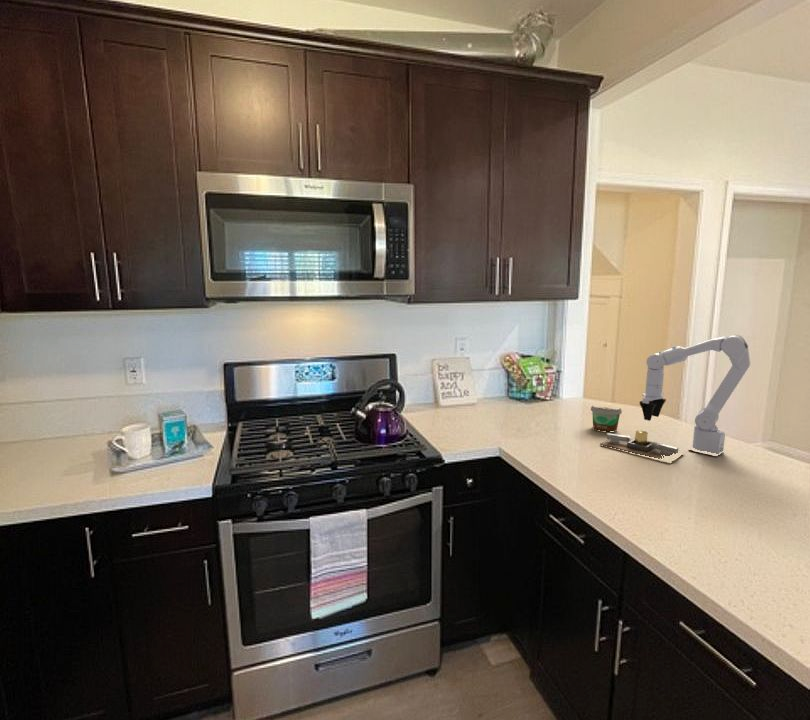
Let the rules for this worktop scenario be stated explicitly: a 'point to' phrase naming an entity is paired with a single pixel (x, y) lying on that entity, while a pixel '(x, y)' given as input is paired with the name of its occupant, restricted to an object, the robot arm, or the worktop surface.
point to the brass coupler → (641, 437)
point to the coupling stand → (639, 446)
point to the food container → (605, 418)
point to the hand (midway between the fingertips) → (651, 418)
